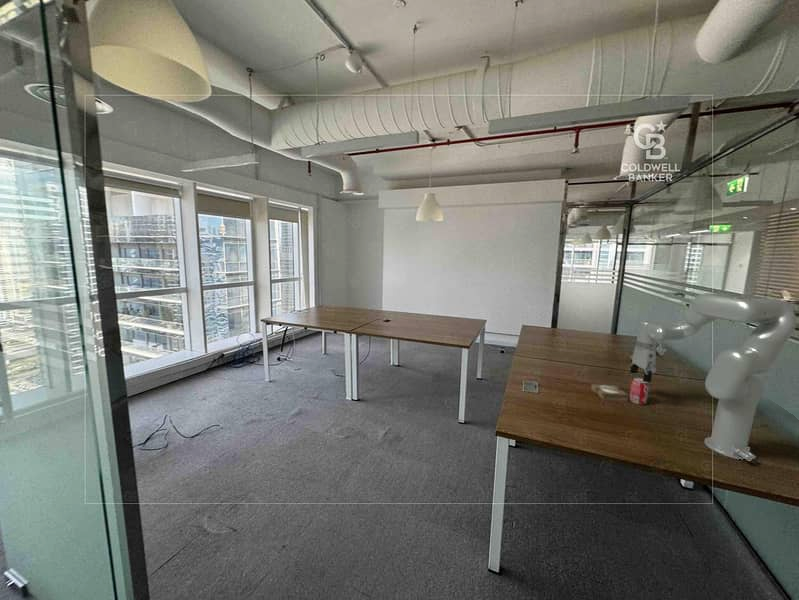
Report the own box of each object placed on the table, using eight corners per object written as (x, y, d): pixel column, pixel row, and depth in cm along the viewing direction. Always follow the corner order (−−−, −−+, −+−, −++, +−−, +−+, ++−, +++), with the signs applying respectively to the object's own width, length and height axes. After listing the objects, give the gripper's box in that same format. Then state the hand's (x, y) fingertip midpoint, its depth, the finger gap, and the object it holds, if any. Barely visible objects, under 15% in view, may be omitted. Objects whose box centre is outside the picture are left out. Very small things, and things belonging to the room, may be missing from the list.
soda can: (644, 401, 156) (648, 379, 154) (647, 407, 150) (651, 384, 148) (627, 397, 159) (631, 376, 157) (629, 403, 153) (633, 381, 151)
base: (627, 400, 156) (628, 395, 155) (603, 399, 157) (603, 393, 156) (613, 390, 168) (614, 384, 167) (591, 389, 169) (591, 383, 168)
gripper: (667, 351, 141) (660, 385, 144) (641, 339, 158) (636, 370, 161) (650, 351, 141) (643, 384, 145) (626, 339, 158) (621, 369, 162)
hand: (639, 377), depth 153 cm, fingers open, 9 cm apart
